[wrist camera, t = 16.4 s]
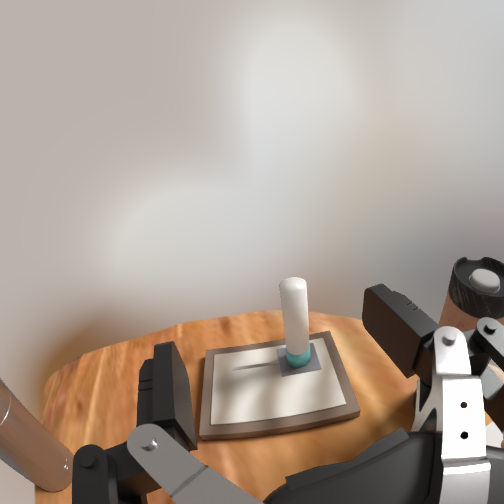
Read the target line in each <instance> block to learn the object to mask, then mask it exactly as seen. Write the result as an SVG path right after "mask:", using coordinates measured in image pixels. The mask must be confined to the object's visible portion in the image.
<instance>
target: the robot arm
mask: <svg viewBox="0 0 504 504" xmlns="http://www.w3.org/2000/svg"><path fill="white" fill-rule="evenodd" d="M362 321H363V325H364V327H365V329H366V330H367V331H368V333H369V334H370V335H371V336H372V337H373V338H374V340H375V341H376V342H377V343H378V344H379V346H380V347H381V348H382V349H383V350H384V351H385V353H386V354H387V355H388V356H389V357H390V359H391V360H392V361H393V362H394V363H395V365H396V366H397V367H398V368H399V369H400V371H401V372H402V373H403V374H404V375H405V377H406V378H409V377H411V376H413V375H414V374H417V375H418V376H419V377H418V380H417V397H416V413H415V420H414V423H413V426H412V429H411V432H407V433H406V432H405V430H404V429H403V427H401V428H400V429H398V430H396V431H394V432H392V433H391V434H389V435H387V436H385V437H383V438H381V439H379V440H377V441H376V442H375V443H374V444H372V445H371V446H370V447H369V448H368V449H366V450H365V451H364V452H362V453H361V454H360V455H359V456H357V457H356V458H355V459H353V460H351V461H347V462H342V463H337V464H331V465H324V466H317V467H314V468H312V469H309V470H306V471H303V472H300V473H297V474H294V475H290V476H287V477H285V479H286V484H284V485H282V486H280V487H279V488H277V489H276V490H274V491H273V492H272V493H271V494H270V495H268V496H267V497H266V499H265V500H264V501H263V502H261V501H259V500H258V499H256V498H254V497H253V496H251V495H250V494H248V493H247V492H245V491H243V490H242V489H240V488H239V487H237V486H236V485H235V484H233V483H232V482H230V481H229V480H227V479H226V478H225V477H223V476H222V475H220V474H219V473H218V472H216V471H215V470H213V469H212V468H211V467H209V466H207V465H204V464H203V463H201V462H200V461H199V460H198V459H196V458H195V457H194V456H193V455H192V454H190V451H192V450H198V447H197V441H196V434H195V427H194V419H193V412H192V403H191V395H190V385H189V378H188V374H187V371H186V368H185V365H184V363H183V361H182V359H181V356H180V354H179V352H178V350H177V347H176V345H175V343H174V342H173V341H171V342H166V343H161V344H156V345H155V346H154V358H153V359H148V360H145V361H144V363H143V365H142V367H141V369H140V372H139V385H138V391H139V392H138V403H137V425H136V428H135V429H134V430H133V431H132V432H131V433H130V434H129V436H128V439H127V441H126V442H124V443H122V444H120V445H117V446H114V447H112V448H109V449H106V450H103V449H102V448H101V447H99V446H97V445H91V444H90V445H85V446H83V447H81V448H80V449H79V450H78V451H77V452H76V453H75V455H74V457H73V455H72V453H71V452H70V450H69V449H68V448H67V447H65V446H64V445H63V444H62V443H61V442H60V441H59V440H58V439H56V438H55V437H54V436H53V435H52V434H51V433H50V432H49V431H48V430H47V429H46V428H45V427H44V426H43V425H42V424H41V423H40V422H39V421H38V420H37V419H36V418H35V417H34V416H33V415H32V414H31V413H30V412H29V411H28V410H27V409H26V408H25V407H24V405H23V404H22V403H21V402H20V401H19V400H18V399H17V398H16V397H15V395H14V394H13V393H12V392H11V390H10V389H9V388H8V387H7V386H6V385H5V383H4V382H3V381H2V380H1V378H0V459H1V460H3V461H4V462H5V463H6V464H8V465H9V466H10V467H12V468H13V469H14V470H16V471H17V472H18V473H20V474H21V475H23V476H24V477H25V478H27V479H28V480H30V481H31V482H33V483H34V484H36V485H37V486H39V487H40V488H42V489H44V490H46V491H49V492H57V491H60V490H62V489H64V488H66V487H67V486H68V485H69V484H70V482H71V480H72V504H148V503H147V496H146V494H147V493H150V492H152V491H155V490H158V489H160V488H163V489H164V490H165V491H166V492H167V493H168V494H169V495H170V497H171V498H172V499H173V501H174V502H176V503H177V504H504V383H503V382H502V381H501V380H500V378H499V377H498V376H497V375H496V374H495V373H494V372H493V371H492V369H491V368H490V367H489V366H488V364H489V362H490V360H491V359H492V360H493V361H494V362H495V363H496V364H497V365H498V366H499V367H500V368H501V369H502V370H503V372H504V326H503V325H502V324H501V323H499V322H498V321H497V320H495V319H493V318H489V317H484V318H481V319H480V320H479V321H478V322H477V325H476V328H475V329H474V330H470V331H466V332H461V331H460V330H458V329H457V328H454V327H451V326H444V327H440V326H439V325H438V324H437V323H436V322H434V321H433V320H432V319H431V318H430V317H429V316H428V315H427V314H425V313H424V312H423V311H422V310H421V309H418V307H417V306H416V305H415V304H414V303H412V301H410V300H409V299H408V298H407V297H406V296H405V295H402V294H400V293H398V292H395V291H393V292H392V291H391V290H390V289H389V288H387V287H386V286H385V285H384V284H378V285H375V286H372V287H370V288H367V289H366V290H365V292H364V303H363V312H362ZM483 408H484V410H485V411H486V412H487V414H488V415H489V416H490V418H491V419H492V420H493V422H494V423H495V424H496V426H497V427H498V428H499V430H500V431H501V433H502V434H503V441H502V442H501V448H499V447H494V446H489V445H485V424H484V410H483Z"/></svg>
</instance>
